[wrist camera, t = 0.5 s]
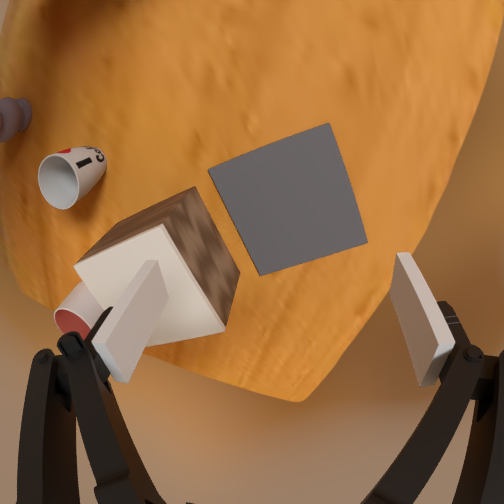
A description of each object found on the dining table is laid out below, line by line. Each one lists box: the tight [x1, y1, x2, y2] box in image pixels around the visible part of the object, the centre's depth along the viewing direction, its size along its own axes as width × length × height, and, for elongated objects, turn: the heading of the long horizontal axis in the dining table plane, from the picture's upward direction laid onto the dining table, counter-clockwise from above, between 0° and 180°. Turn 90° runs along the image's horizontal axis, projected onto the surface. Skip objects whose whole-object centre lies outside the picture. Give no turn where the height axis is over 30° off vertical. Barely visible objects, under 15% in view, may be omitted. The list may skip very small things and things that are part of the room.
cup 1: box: [38, 146, 107, 209], centre depth 40 cm, size 8×8×10 cm
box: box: [77, 186, 240, 327], centre depth 45 cm, size 16×16×13 cm
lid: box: [73, 223, 226, 347], centre depth 35 cm, size 16×16×11 cm
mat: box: [208, 123, 368, 276], centre depth 44 cm, size 19×18×1 cm
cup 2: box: [54, 281, 104, 341], centre depth 55 cm, size 10×10×10 cm
